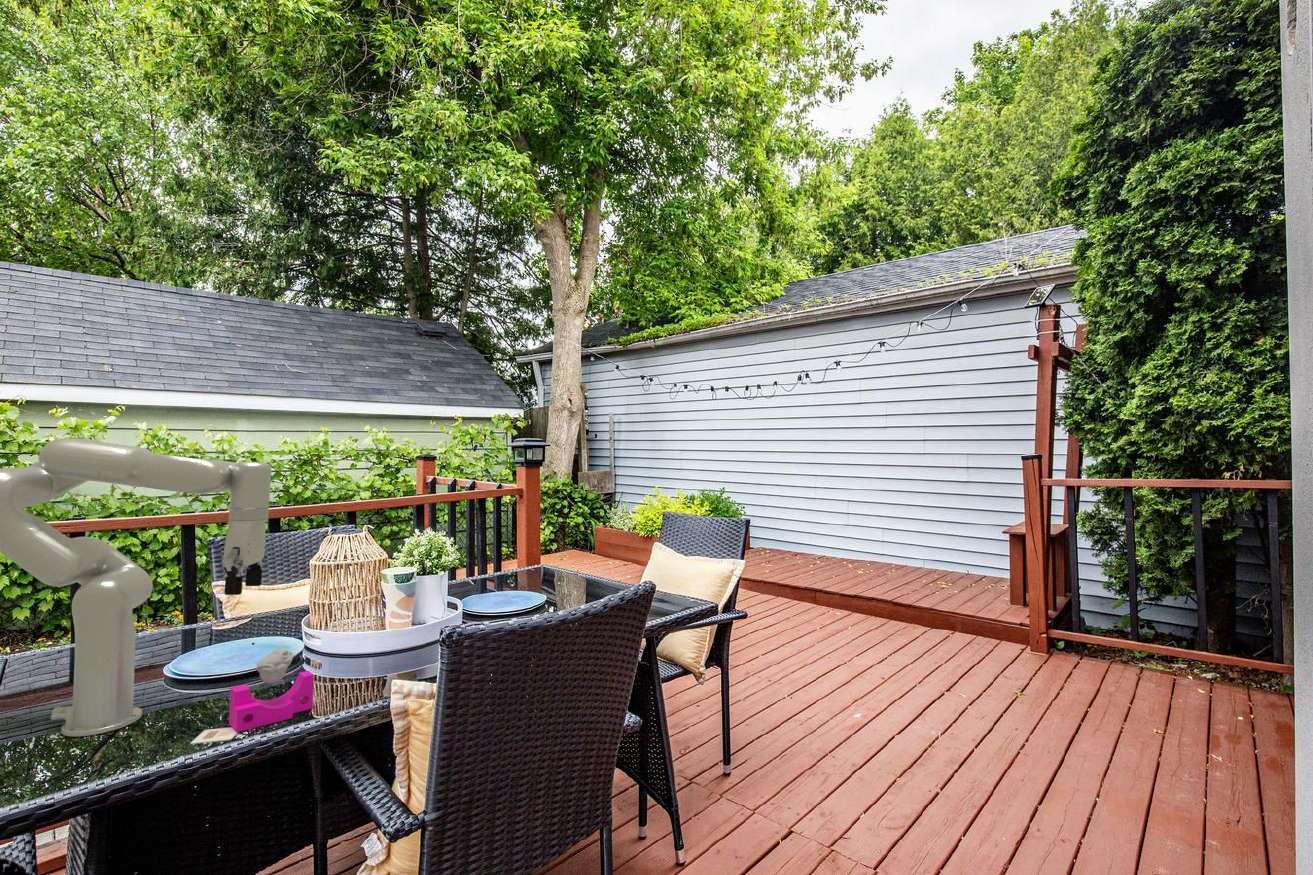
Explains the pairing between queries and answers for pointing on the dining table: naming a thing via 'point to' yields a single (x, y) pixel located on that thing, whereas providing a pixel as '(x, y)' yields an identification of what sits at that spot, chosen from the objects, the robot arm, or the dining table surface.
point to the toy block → (269, 704)
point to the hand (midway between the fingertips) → (243, 590)
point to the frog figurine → (274, 665)
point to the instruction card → (215, 735)
